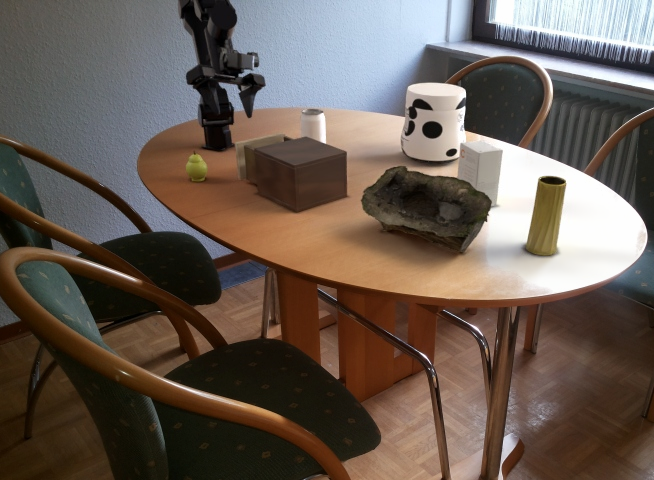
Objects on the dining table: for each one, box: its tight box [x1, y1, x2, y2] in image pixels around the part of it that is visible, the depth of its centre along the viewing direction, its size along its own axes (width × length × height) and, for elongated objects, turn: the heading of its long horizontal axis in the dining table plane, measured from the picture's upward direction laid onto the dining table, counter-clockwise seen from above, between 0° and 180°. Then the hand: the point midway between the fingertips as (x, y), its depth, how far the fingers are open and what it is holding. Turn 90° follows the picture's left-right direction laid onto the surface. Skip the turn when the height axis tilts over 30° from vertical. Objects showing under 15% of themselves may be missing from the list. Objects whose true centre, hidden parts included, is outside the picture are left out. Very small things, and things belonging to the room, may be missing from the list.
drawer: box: [234, 132, 294, 186], centre depth 152 cm, size 17×13×9 cm
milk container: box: [400, 82, 467, 164], centre depth 169 cm, size 17×17×18 cm
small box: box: [456, 139, 504, 207], centre depth 144 cm, size 8×6×13 cm
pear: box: [185, 150, 209, 183], centre depth 152 cm, size 5×5×7 cm
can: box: [299, 108, 327, 144], centre depth 168 cm, size 6×6×12 cm
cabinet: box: [254, 137, 348, 213], centre depth 145 cm, size 15×15×11 cm
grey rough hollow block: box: [360, 165, 492, 254], centre depth 127 cm, size 28×13×15 cm
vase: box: [525, 175, 568, 256], centre depth 124 cm, size 6×6×14 cm
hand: (234, 116), depth 149 cm, fingers open, 9 cm apart
